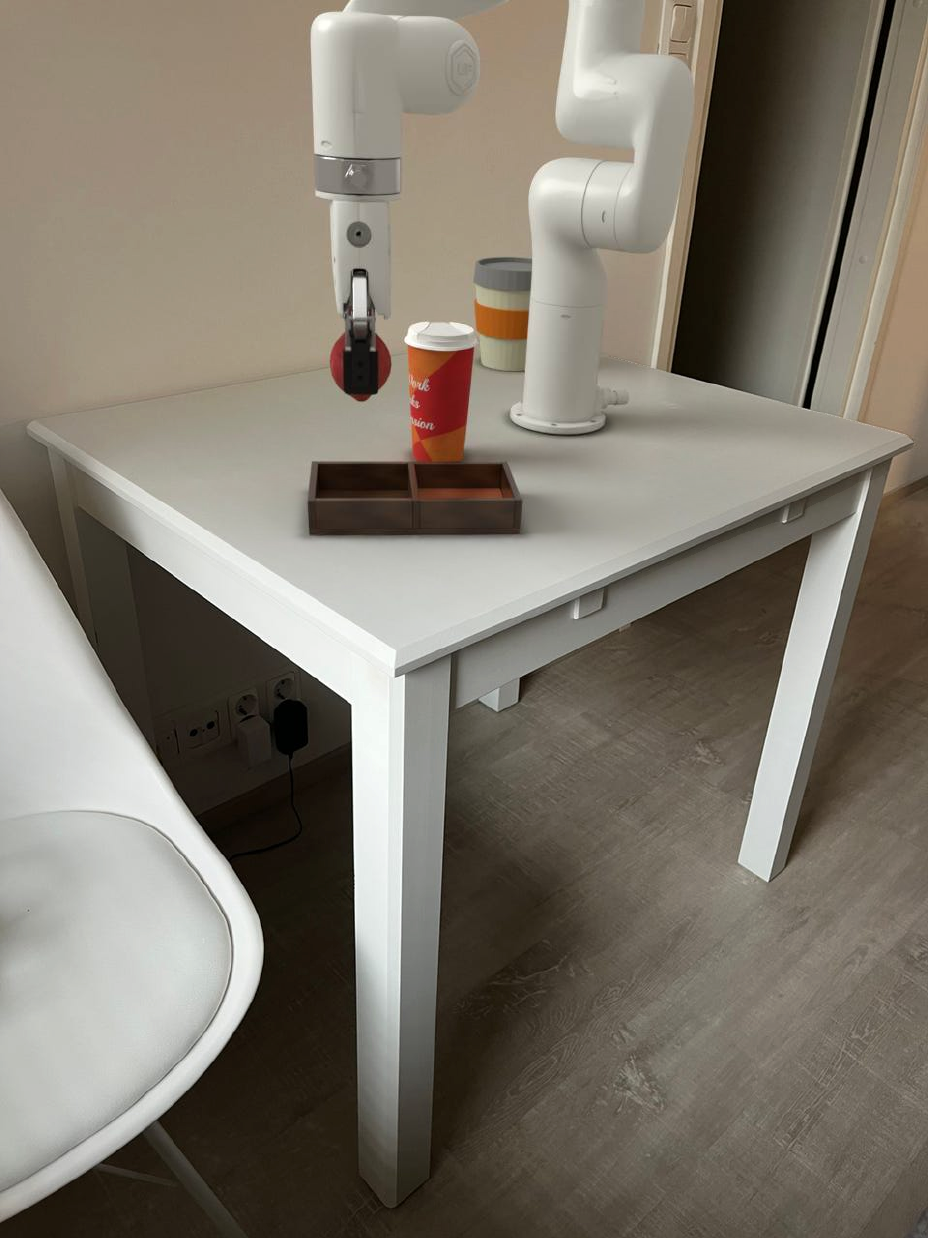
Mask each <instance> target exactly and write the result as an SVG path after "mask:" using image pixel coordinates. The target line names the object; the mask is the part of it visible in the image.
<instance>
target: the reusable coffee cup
mask: <svg viewBox="0 0 928 1238" xmlns="http://www.w3.org/2000/svg"><path fill="white" fill-rule="evenodd" d="M473 273H474V274H473V278H472V279H473V281H472V282H473V283H474V284H475V296H476V298H475V299H474V300H473V303H474V305H473V306H474V317H475V318H474V319H475V329H476V332H477V333H478V334H479V336H478V337H479V347H480V350H479V351H480V358H481V359H480V361H481V364H482V365H483V366H485V368H489V369H493V370H497V371H503V372H504V371H505V372H525V362H526V348H527V334H528V320H529V306H530V294H531V278H532V257H531V258H530V257H517V256H493V257H485V258H480V259H478V260H476V261H475V266H474V272H473Z"/></svg>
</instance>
